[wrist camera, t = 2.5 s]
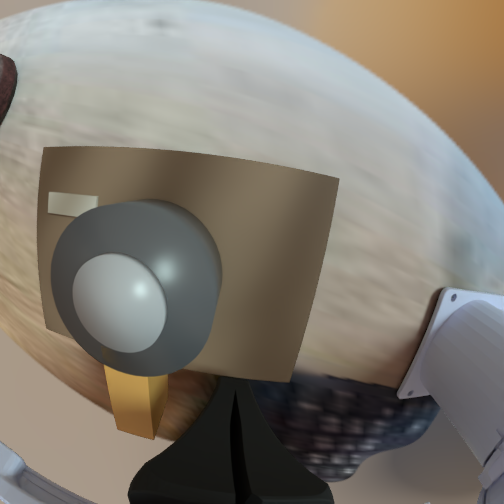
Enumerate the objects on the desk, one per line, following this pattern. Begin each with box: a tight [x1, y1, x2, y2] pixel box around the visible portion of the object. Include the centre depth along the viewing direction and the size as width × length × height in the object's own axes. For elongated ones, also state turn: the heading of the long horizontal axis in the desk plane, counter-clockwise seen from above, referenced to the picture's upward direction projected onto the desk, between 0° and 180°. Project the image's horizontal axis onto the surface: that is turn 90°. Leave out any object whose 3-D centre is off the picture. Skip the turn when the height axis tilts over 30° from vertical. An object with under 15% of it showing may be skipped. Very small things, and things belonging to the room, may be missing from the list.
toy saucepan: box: [51, 199, 223, 440], centre depth 10 cm, size 10×6×4 cm, turn 170°
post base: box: [37, 146, 339, 382], centre depth 12 cm, size 14×10×1 cm
